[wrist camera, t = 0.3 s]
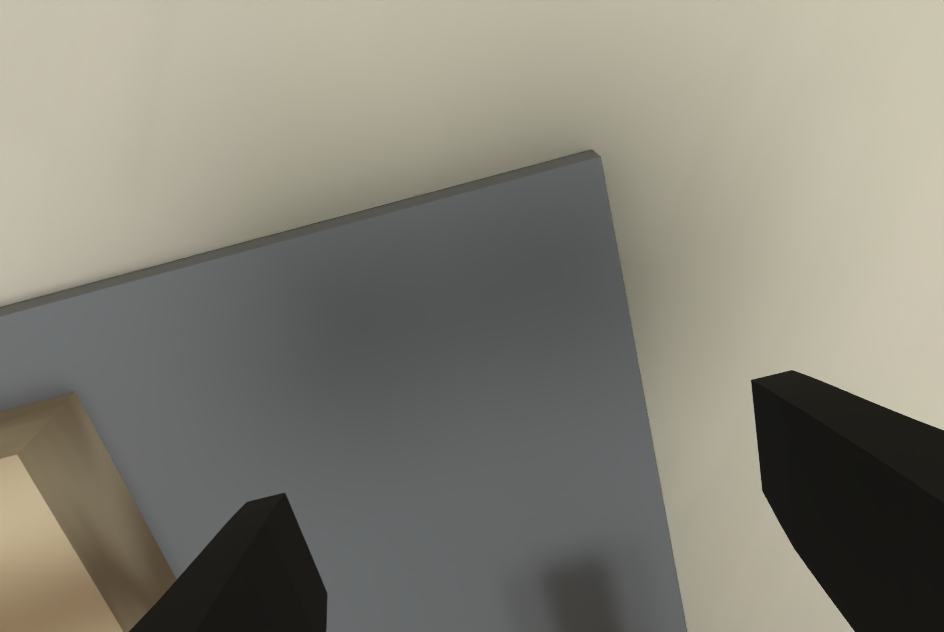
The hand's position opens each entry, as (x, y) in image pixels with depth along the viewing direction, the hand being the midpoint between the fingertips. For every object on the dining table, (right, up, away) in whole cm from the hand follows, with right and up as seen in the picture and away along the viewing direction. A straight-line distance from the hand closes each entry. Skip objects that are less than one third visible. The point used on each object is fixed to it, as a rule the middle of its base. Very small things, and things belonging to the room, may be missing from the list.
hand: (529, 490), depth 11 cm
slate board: (-5, -5, +12) cm, 15 cm away
